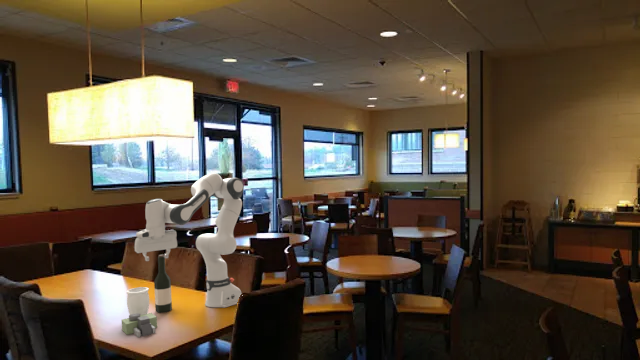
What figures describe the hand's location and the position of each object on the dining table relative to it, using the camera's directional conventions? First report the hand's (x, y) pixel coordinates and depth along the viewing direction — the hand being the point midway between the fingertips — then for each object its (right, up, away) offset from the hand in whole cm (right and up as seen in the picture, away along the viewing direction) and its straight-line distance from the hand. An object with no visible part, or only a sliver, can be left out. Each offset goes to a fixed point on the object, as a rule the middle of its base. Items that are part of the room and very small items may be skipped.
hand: (157, 259), depth 223 cm
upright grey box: (0, -32, -15) cm, 35 cm away
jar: (-11, -32, +6) cm, 34 cm away
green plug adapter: (-3, -32, -11) cm, 34 cm away
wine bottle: (-3, -31, +17) cm, 35 cm away
